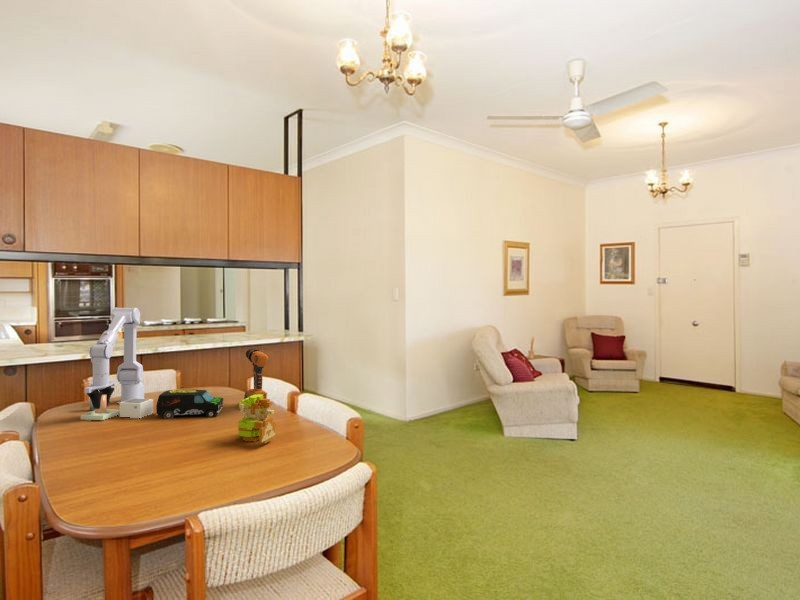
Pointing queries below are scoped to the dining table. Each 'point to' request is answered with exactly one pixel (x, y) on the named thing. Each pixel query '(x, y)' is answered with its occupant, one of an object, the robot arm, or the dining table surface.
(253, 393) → the power drill
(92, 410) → the grey peg
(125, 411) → the box
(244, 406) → the toy
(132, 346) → the robot arm
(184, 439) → the dining table surface
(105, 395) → the terracotta peg
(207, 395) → the toy van
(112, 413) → the tray
